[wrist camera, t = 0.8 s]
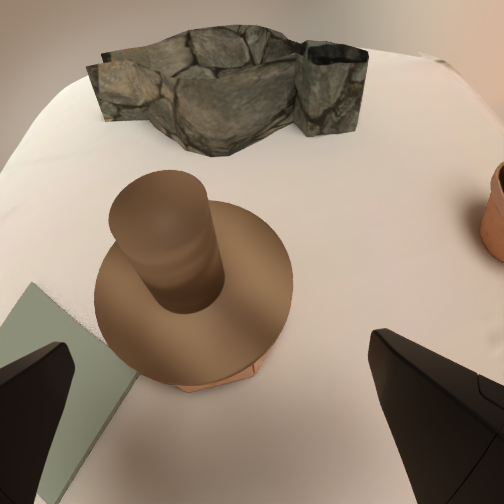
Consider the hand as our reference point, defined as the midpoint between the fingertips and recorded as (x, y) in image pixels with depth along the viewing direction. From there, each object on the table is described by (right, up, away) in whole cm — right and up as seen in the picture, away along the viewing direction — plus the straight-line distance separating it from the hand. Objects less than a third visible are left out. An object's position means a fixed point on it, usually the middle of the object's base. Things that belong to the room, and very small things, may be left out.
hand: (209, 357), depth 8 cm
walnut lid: (-3, +1, +13) cm, 13 cm away
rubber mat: (-17, -9, +13) cm, 23 cm away
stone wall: (-3, +21, +32) cm, 38 cm away
